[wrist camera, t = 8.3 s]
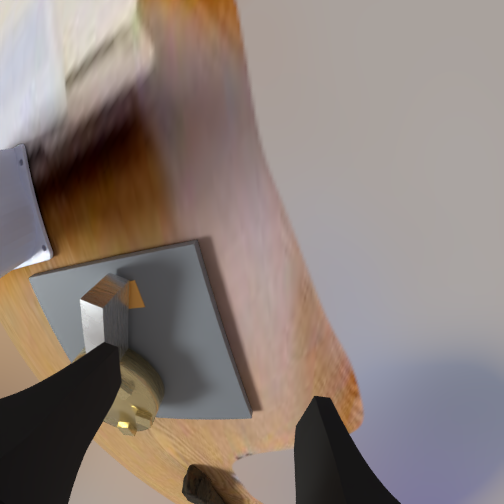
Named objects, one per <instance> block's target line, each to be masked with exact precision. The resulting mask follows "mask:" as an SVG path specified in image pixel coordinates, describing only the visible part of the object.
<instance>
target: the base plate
mask: <svg viewBox="0 0 504 504" xmlns="http://www.w3.org/2000/svg"><path fill="white" fill-rule="evenodd" d="M108 273H111V274H114V275H117V276H120V277H123V278H126V279H129V280H130V284H129V311H128V348H129V349H131V350H133V351H134V352H136V353H137V354H139V355H140V356H142V357H143V358H144V359H145V360H146V361H148V362H149V363H150V364H151V365H152V367H153V368H154V369H155V370H156V371H157V373H158V374H159V376H160V378H161V379H162V382H163V384H164V389H165V393H164V397H163V400H162V402H161V405H160V407H159V410H158V412H157V414H156V417H159V418H175V419H247V418H252V409H251V406H250V404H249V401H248V398H247V395H246V392H245V390H244V387H243V384H242V381H241V378H240V375H239V372H238V369H237V366H236V364H235V361H234V358H233V355H232V352H231V349H230V346H229V343H228V340H227V336H226V333H225V330H224V327H223V324H222V321H221V318H220V315H219V311H218V308H217V305H216V302H215V298H214V295H213V292H212V289H211V285H210V282H209V278H208V275H207V272H206V268H205V265H204V261H203V258H202V254H201V251H200V247H199V244H198V240H193V241H188V242H183V243H178V244H173V245H168V246H163V247H158V248H153V249H148V250H143V251H138V252H133V253H128V254H124V255H119V256H114V257H109V258H105V259H100V260H95V261H91V262H86V263H82V264H77V265H72V266H68V267H63V268H59V269H55V270H50V271H46V272H41V273H37V274H34V275H32V276H31V277H29V280H30V283H31V285H32V288H33V290H34V292H35V294H36V297H37V299H38V301H39V303H40V305H41V307H42V309H43V312H44V314H45V316H46V318H47V320H48V322H49V324H50V325H51V327H52V329H53V331H54V333H55V335H56V337H57V339H58V340H59V342H60V344H61V346H62V347H63V349H64V351H65V353H66V354H67V356H68V358H69V359H70V361H71V363H72V362H73V361H74V359H75V358H76V357H77V356H78V354H79V353H80V352H81V351H82V349H83V348H84V347H85V343H84V335H83V327H82V317H81V306H80V299H81V298H82V297H83V296H84V295H85V294H86V293H87V292H88V291H89V290H90V289H91V288H93V287H94V286H95V285H96V284H97V283H98V282H99V281H100V280H101V279H103V278H104V277H105V276H106V275H107V274H108Z"/></svg>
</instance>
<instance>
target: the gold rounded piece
mask: <svg viewBox="0 0 504 504" xmlns="http://www.w3.org/2000/svg"><path fill="white" fill-rule="evenodd" d="M129 284H130V280H129V279H126V278H123V277H120V276H117V275H114V274H111V273H108V274H107V275H106V276H105V277H104V278H103V279H101V280H100V281H99V282H98V283H97V284H96V285H95V286H94V287H93V288H91V289H90V290H89V291H88V292H87V293H86V294H85V295H84V296H83V297H82V298H81V299H80V306H81V317H82V327H83V335H84V343H85V347H84V348H83V349H82V351H81V352H80V353H79V354H78V356H77V357H76V358H75V359H74V361H73V362H75V361H76V360H78V359H79V358H81V357H82V356H84V355H85V354H87V353H88V352H89V351H91V350H92V349H94V348H95V347H97V346H98V345H100V344H101V343H103V342H106V343H109V344H111V345H114V346H117V347H119V359H120V370H121V380H122V384H121V386H120V389H119V391H118V393H117V396H116V398H115V400H114V403H113V405H112V407H111V408H110V410H109V412H108V413H107V415H106V417H105V419H104V420H103V421H104V422H106V423H108V424H110V425H112V426H115V427H117V428H118V429H119V430H120V431H121V432H122V433H123V434H124V435H130V436H135V434H136V432H137V431H143V430H146V429H148V428H151V426H152V424H153V422H154V419H155V417H156V414H157V412H158V410H159V407H160V405H161V402H162V400H163V397H164V393H165V389H164V384H163V382H162V379H161V378H160V376H159V374H158V373H157V371H156V370H155V369H154V368H153V367H152V365H151V364H150V363H149V362H148V361H146V360H145V359H144V358H143V357H142V356H140V355H139V354H137V353H136V352H134V351H133V350H131V349H129V348H128V311H129ZM73 362H72V363H73Z"/></svg>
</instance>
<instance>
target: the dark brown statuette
mask: <svg viewBox="0 0 504 504" xmlns="http://www.w3.org/2000/svg"><path fill="white" fill-rule="evenodd" d="M182 493H183V494H184V496H185V497H186V498H187V500H188V501H190V502H192V503H194V504H225V503H224V502H223V500H222V498H221V497H220V496H219V495H218V494H217V493H216V491H215V490H214V489H213V488H212V484H211V480H210V478H209V477H208V476H207V475H205V474H204V473H203V472H202V471H200V470H199V469H197V468H196V467H194V466H193V465H190V466H189V468H188V470H187V474H186V475H185V477H184V480H183V489H182Z"/></svg>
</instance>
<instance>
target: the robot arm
mask: <svg viewBox="0 0 504 504" xmlns="http://www.w3.org/2000/svg"><path fill="white" fill-rule="evenodd" d="M22 161H23V163H22ZM45 246H46V247H45ZM52 257H53V251H52V248H51V245H50V242H49V239H48V236H47V233H46V230H45V227H44V224H43V221H42V217H41V214H40V210H39V207H38V203H37V199H36V196H35V192H34V188H33V183H32V179H31V174H30V170H29V165H28V160H27V154H26V149H25V146H24V144H19V145H17V146H16V147H15V148H10V149H5V150H0V278H1V277H3V276H4V275H6V274H7V273H9V272H10V271H12V270H14V269H18V268H21V267H25V266H29V265H32V264H36V263H40V262H43V261H47V260H50V259H51V258H52ZM121 384H122V380H121V370H120V359H119V347H117V346H114V345H111V344H109V343H106V342H103V343H101V344H100V345H98V346H97V347H95V348H94V349H92V350H91V351H89V352H88V353H87V354H85V355H84V356H82V357H81V358H79V359H78V360H76V361H75V362H73V363H71V364H70V365H68V366H67V367H65V368H64V369H62V370H60V371H59V372H57V373H55V374H54V375H52V376H50V377H48V378H47V379H45V380H43V381H41V382H39V383H38V384H35V385H33V386H31V387H30V388H27V389H25V390H23V391H20V392H18V393H16V394H13V395H10V396H7V397H4V398H1V399H0V504H68V502H69V498H70V494H71V491H72V487H73V484H74V481H75V479H76V475H77V472H78V470H79V467H80V465H81V462H82V460H83V457H84V455H85V453H86V450H87V448H88V446H89V445H90V443H91V441H92V439H93V438H94V436H95V434H96V432H97V431H98V429H99V427H100V426H101V424H102V422H103V420H104V419H105V417H106V415H107V413H108V412H109V410H110V408H111V407H112V405H113V403H114V400H115V398H116V396H117V393H118V391H119V389H120V386H121ZM294 461H295V482H296V484H295V485H296V504H401V503H400V502H399V501H398V500H397V499H395V497H394V496H393V495H391V493H390V492H389V491H388V490H387V489H386V488H385V487H384V486H383V484H382V483H381V482H380V481H379V479H378V478H377V477H376V475H375V474H374V473H373V471H372V470H371V469H370V467H369V466H368V464H367V463H366V461H365V460H364V458H363V457H362V455H361V453H360V452H359V450H358V449H357V447H356V445H355V444H354V442H353V440H352V438H351V436H350V435H349V433H348V431H347V429H346V427H345V425H344V424H343V422H342V420H341V418H340V416H339V414H338V412H337V410H336V408H335V406H334V404H333V402H332V400H331V399H330V398H328V397H319V396H314V398H313V399H312V401H311V403H310V404H309V406H308V408H307V409H306V411H305V412H304V414H303V416H302V417H301V419H300V421H299V422H298V424H297V425H296V431H295V443H294Z"/></svg>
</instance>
